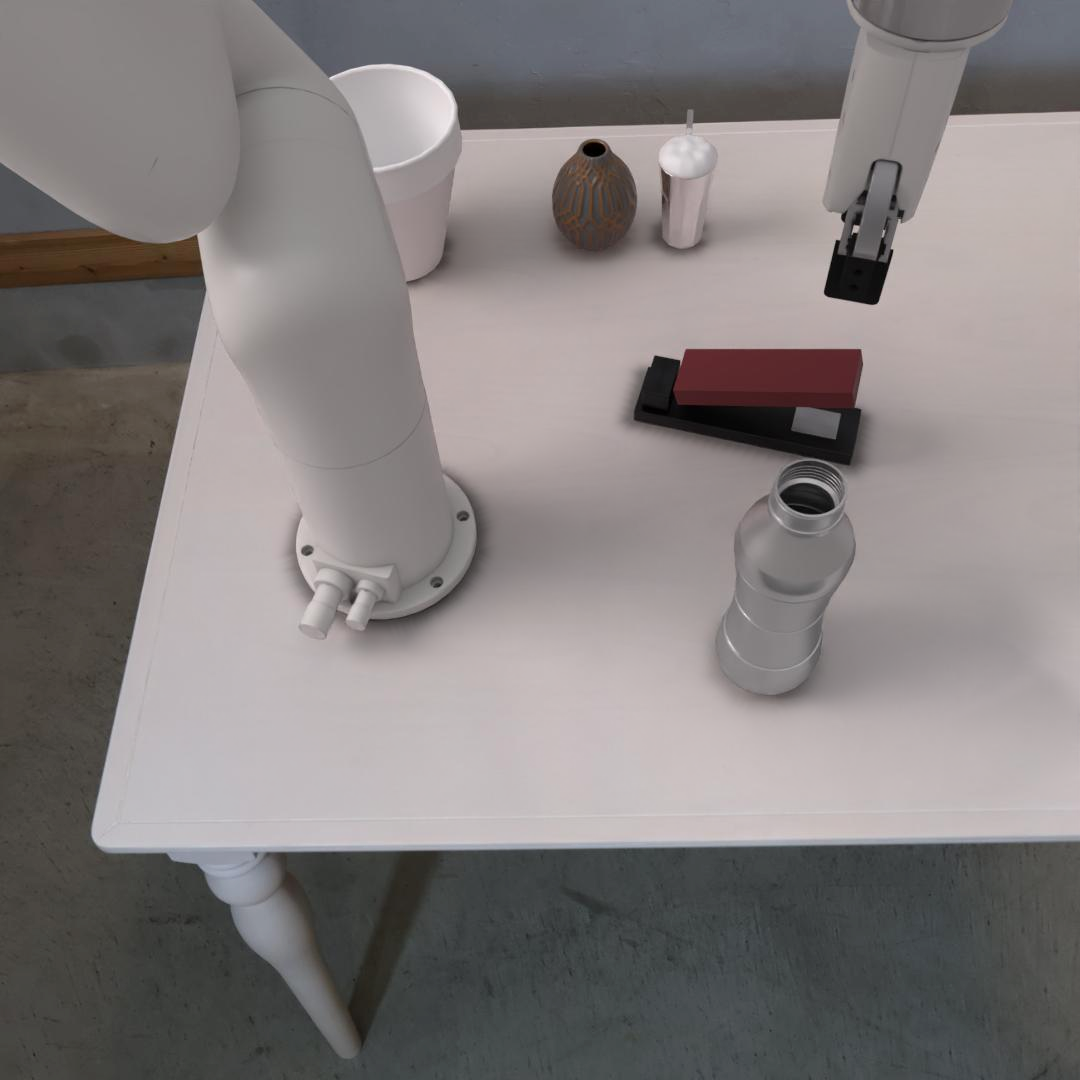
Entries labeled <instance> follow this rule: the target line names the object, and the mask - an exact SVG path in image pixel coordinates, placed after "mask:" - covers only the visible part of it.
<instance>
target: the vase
mask: <svg viewBox="0 0 1080 1080" xmlns="http://www.w3.org/2000/svg"><path fill="white" fill-rule="evenodd" d="M551 207H552V214H553V219H554V221H555V224H556V226H557V228H558V230H559V233H561V234H562V236H563V238H565V239H566V240H567V241H568V242H569V243H570V244H572V245H573V246H575V247H577V248H579V249H582V250H585V251H591V252H593V251H594V252H596V251H597V252H598V251H601V250H606V249H608V248H609V249H610V248H611V247H613V246H616V244H618V243H619V242H620V241H622V240H623V239H624V238H625V237H626V236H627V234H628V233H629V231H630V229H631V227H632V226H633V224H634V223H633V222H634V221H635V217H636V214H637V208H638V192H637V185H636V182H635V179H634V176H633V174H632V171H631V170H630V168H629V167H628V165H627V164H626V163H625V161H624V160H623V159H621V158H620V157H619V156H618V155H617V154H615V152H613V150H612V149H611V146H610V145H609V144H608V142H606V141H605V140H603V139H600V138H590V139H586V140H584V141H583V142H581V144H580V145H579V146H578V148H577V151H576V152H575V153H574V154H572V156H570V157H569V158H568V159H567V160H566V161H565V162H564V163H563V164H562V166H561V167H560V169H559V171H558V173H557V175H556V178H555V180H554V183H553V186H552V192H551Z"/></svg>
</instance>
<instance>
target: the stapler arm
mask: <svg viewBox="0 0 1080 1080" xmlns="http://www.w3.org/2000/svg"><path fill="white" fill-rule="evenodd" d="M863 359H864V358H863V351H862V348H685V350H684V353H683V356H682V360H681V363H680V369H679V373H678V376H677V379H676V382H675V386H674V389H673V391H674V394H675V397H676V401H677V404H678V405H720V406H768V407H816V408H856V404H857V399H858V395H859V389H860V384H861V379H862V373H863V369H864V368H863V367H864V360H863Z"/></svg>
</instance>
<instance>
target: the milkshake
mask: <svg viewBox="0 0 1080 1080" xmlns="http://www.w3.org/2000/svg"><path fill="white" fill-rule="evenodd" d="M694 111H695V110H694V109H687V111H686V112H687V113H686V128H685V129H686V130H685V135H676V136H674V137H672V138H671V139H668V140H667V141H666V142H665V143H664V144H663V145H662V147H661V148H660V150H659V152H658V156H657V158H658V173H659V185H660V198H661V201H660V202H661V229H662V230H661V232H662V233H661V234H662V239H663V240H664V242H665V243H666V244H667V245H668V246H669V247H671V248H676V249H679V250H683V249H688V248H693V247H695V245H697V244H698V243H699V242H700V241H701V239H702V235H703V229H704V225H705V218H706V213H707V209H708V204H709V198H710V194H711V190H712V185H713V181H714V176H715V172H716V168H717V165H718V161H719V160H718V158H719V156H718V155H719V154H718V149H717V148H716V147H715V145H713V144H712V143H711V142H710V141H709V140H708V139H707V138H705V137H703V136H696V135H693V127H694V126H693V124H694Z"/></svg>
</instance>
